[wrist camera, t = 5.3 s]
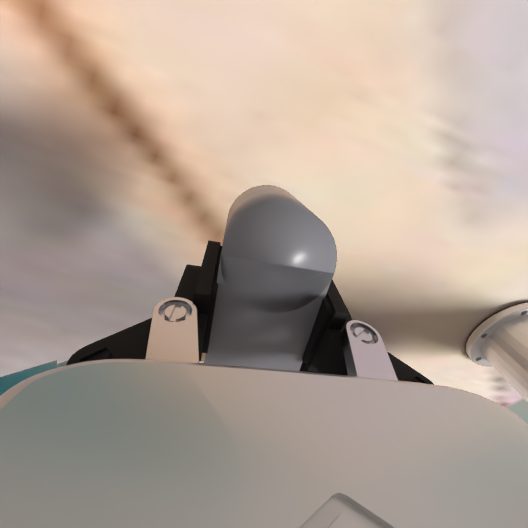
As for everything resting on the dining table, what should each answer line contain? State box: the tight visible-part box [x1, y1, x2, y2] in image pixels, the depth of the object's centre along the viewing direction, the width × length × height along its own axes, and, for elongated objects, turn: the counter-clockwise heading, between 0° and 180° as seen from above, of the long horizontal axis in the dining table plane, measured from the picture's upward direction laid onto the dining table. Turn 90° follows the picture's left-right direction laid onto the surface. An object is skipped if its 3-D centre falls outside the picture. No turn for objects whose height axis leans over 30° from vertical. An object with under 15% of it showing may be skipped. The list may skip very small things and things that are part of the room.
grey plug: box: [204, 185, 337, 371], centre depth 12 cm, size 11×4×5 cm, turn 167°
